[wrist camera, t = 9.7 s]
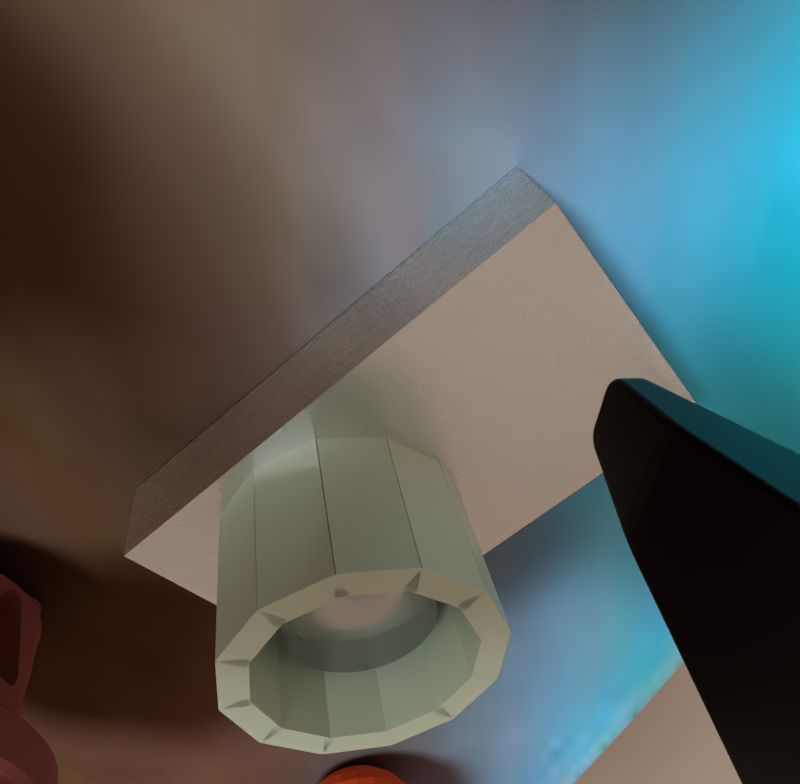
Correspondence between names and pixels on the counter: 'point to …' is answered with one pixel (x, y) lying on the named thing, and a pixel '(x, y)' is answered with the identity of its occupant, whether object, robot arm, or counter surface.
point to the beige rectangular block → (425, 405)
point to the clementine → (362, 776)
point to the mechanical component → (20, 690)
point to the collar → (350, 576)
